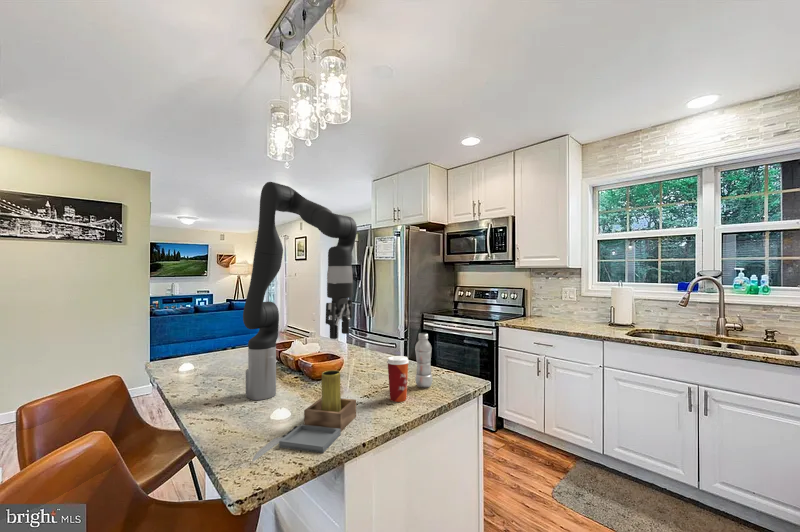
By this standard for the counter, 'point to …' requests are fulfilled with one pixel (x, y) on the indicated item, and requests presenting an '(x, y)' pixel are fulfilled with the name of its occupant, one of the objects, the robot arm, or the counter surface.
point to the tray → (310, 438)
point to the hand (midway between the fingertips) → (339, 336)
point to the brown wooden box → (330, 415)
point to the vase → (331, 391)
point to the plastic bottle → (423, 361)
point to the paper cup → (398, 377)
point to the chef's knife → (270, 445)
